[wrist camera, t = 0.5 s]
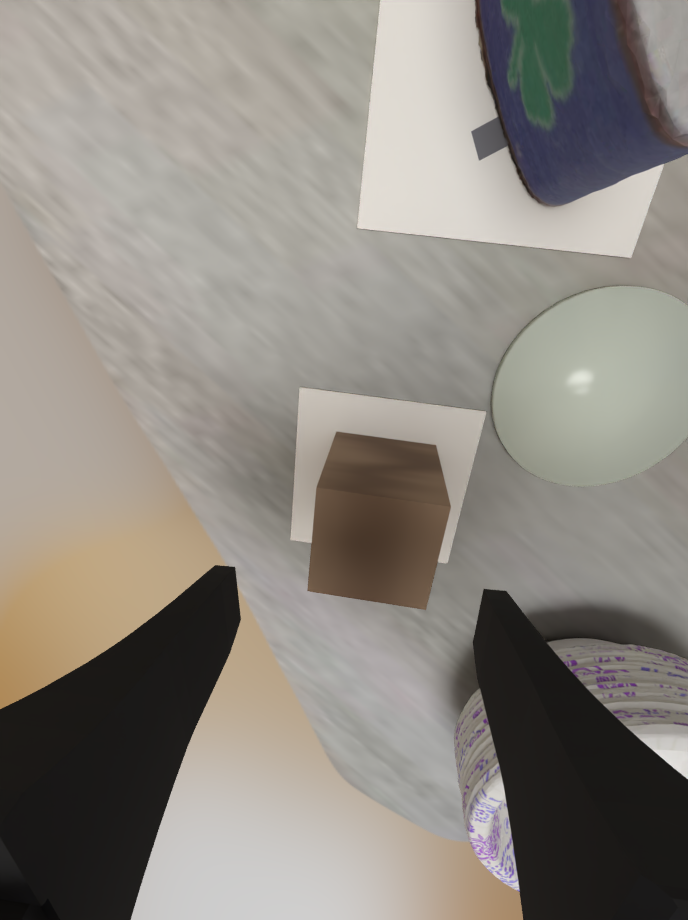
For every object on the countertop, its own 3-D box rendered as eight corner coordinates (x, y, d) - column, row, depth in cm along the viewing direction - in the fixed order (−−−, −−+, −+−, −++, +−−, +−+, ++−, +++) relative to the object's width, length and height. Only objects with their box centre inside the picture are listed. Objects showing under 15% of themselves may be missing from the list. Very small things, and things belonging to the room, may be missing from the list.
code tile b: (486, 411, 20) (486, 412, 20) (447, 562, 24) (447, 563, 24) (300, 386, 20) (299, 387, 20) (291, 538, 24) (290, 540, 24)
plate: (747, 299, 17) (759, 300, 16) (654, 493, 21) (661, 498, 20) (521, 273, 17) (525, 273, 17) (471, 467, 21) (473, 472, 21)
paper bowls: (760, 688, 25) (908, 857, 18) (560, 790, 31) (610, 948, 24) (579, 552, 23) (667, 684, 15) (399, 691, 28) (401, 833, 21)
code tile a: (777, -162, 12) (781, -166, 12) (629, 258, 17) (631, 257, 17) (399, -182, 13) (399, -186, 13) (357, 228, 17) (357, 228, 17)
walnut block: (436, 445, 21) (450, 506, 15) (418, 529, 23) (425, 609, 17) (336, 431, 21) (316, 487, 16) (327, 515, 23) (307, 591, 18)
